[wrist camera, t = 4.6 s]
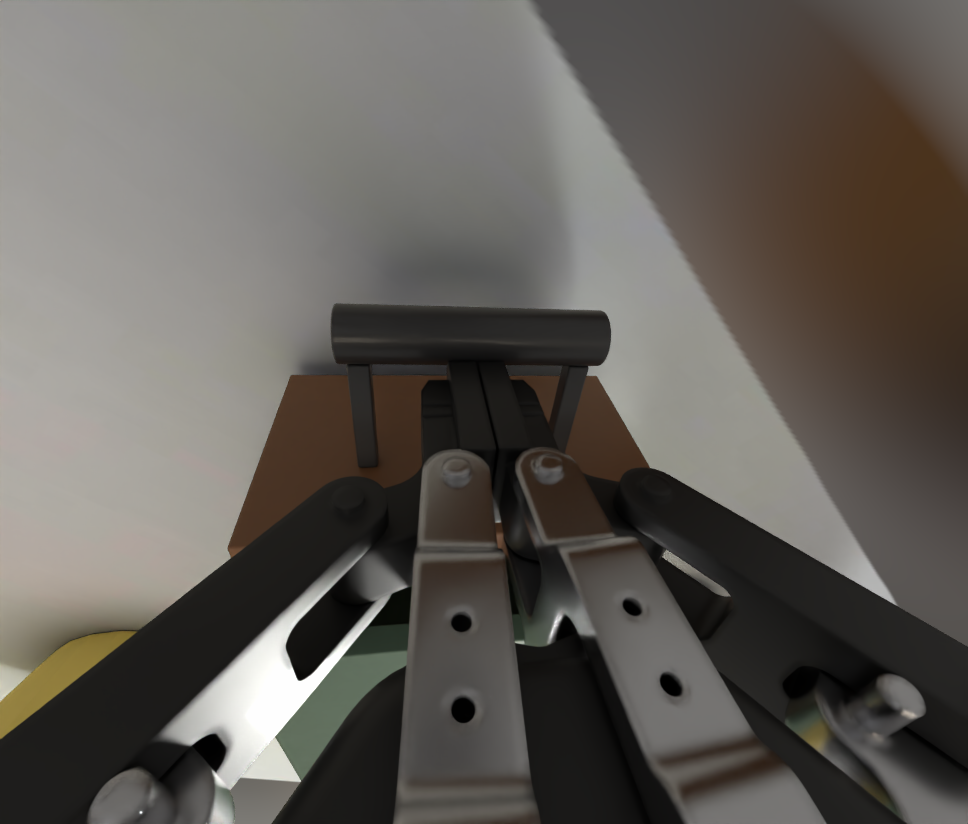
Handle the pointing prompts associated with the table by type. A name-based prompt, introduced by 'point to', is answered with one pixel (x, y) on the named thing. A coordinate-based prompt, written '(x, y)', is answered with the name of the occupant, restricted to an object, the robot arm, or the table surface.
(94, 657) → the vase
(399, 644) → the cabinet
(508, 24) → the table surface
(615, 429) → the drawer
